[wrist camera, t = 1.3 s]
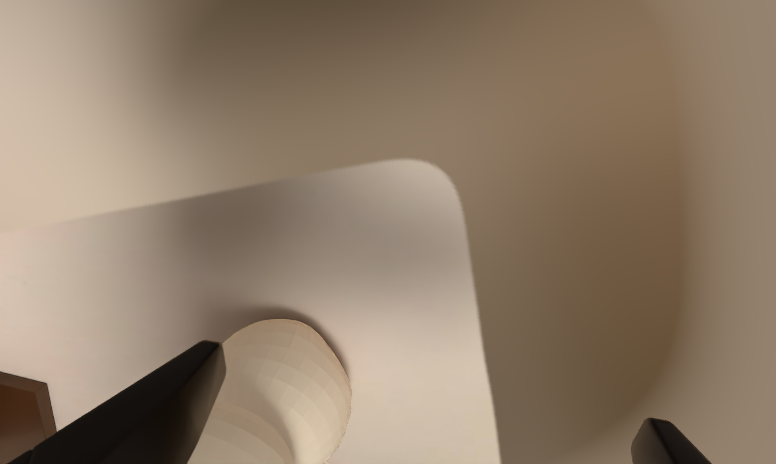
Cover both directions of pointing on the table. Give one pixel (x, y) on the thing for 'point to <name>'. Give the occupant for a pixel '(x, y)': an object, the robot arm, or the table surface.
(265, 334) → the cat figurine
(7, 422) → the stand
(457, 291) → the table surface
